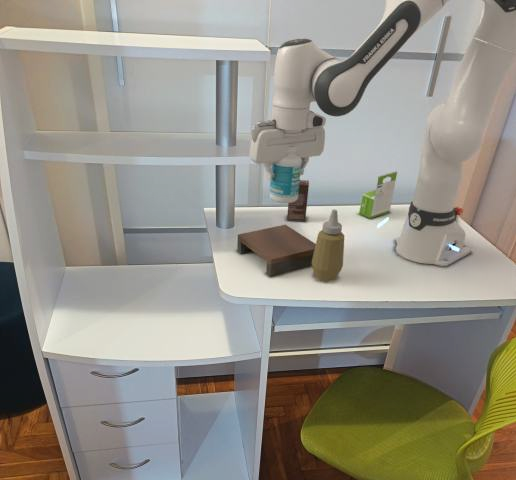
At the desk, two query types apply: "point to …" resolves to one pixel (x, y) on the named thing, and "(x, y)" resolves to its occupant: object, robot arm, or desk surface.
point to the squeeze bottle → (329, 250)
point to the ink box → (378, 197)
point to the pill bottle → (286, 178)
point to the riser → (278, 248)
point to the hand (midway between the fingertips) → (285, 176)
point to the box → (299, 203)
